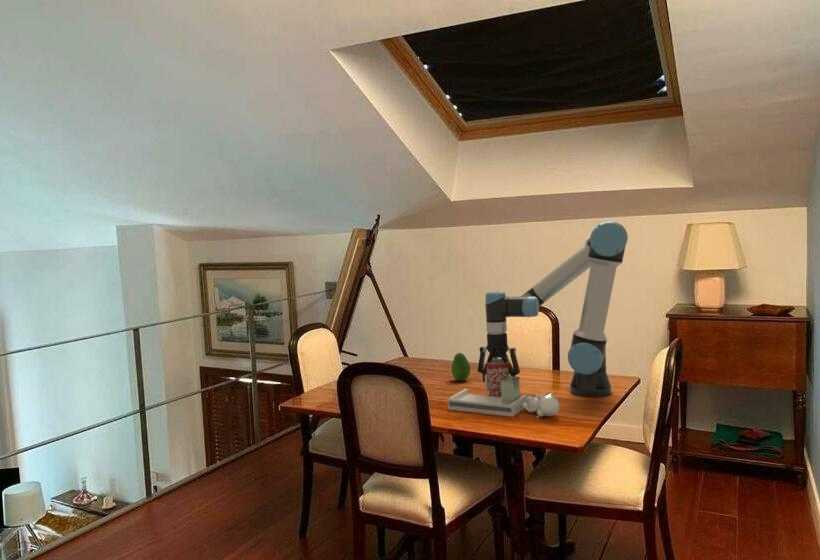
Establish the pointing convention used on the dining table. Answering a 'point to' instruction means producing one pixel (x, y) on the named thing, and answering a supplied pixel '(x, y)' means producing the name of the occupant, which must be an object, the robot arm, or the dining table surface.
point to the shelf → (484, 404)
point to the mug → (496, 375)
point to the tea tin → (510, 389)
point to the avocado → (460, 367)
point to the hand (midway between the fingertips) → (499, 391)
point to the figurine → (542, 404)
